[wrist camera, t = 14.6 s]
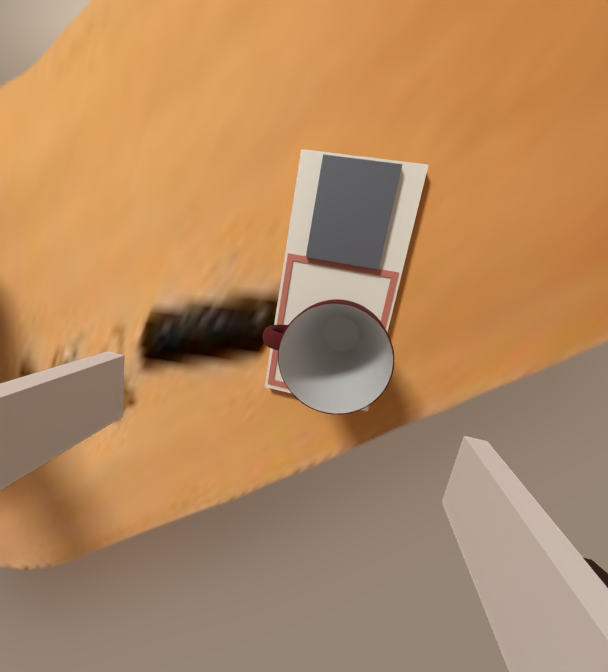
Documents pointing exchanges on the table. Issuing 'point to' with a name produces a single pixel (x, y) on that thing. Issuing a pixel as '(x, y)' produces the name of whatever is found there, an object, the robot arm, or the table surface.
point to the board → (346, 236)
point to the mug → (333, 356)
